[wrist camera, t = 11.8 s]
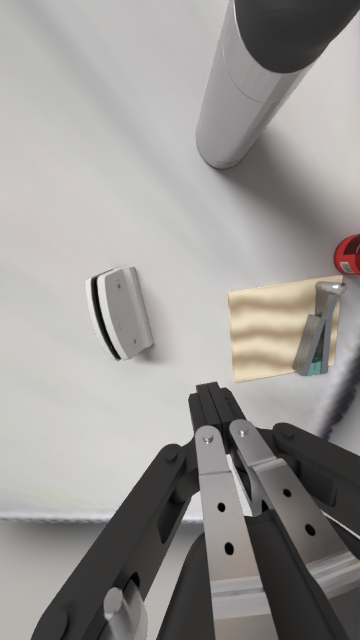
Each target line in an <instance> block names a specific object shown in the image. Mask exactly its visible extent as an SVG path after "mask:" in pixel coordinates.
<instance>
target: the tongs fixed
mask: <svg viewBox="0 0 360 640" xmlns="http://www.w3.org/2000/svg"><path fill="white" fill-rule="evenodd" d="M315 289H316V298H315V314H314V315H318V316H321V317H322V314H323V311H324V308H325V305H326V302H327V299H328V296H329V295H335V294H342V293H344V292H345V290H346V284H344V283H336V282H326V281H318V282H317V283H316V284H315ZM332 317H333V315H332ZM331 328H332V318H331V320H328V319H326V321H325V324H324V327H323V330H322V333H321V336H320V339H319V342H318V345H317V348H316V351H315V354H314V357H313V359H312V361H313V362H315V363H316V365H315V368H314V371H313V373H314V374H315V375H316V374H325V373H327V372H328V361H329V350H330V339H331Z"/></svg>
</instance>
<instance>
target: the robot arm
mask: <svg viewBox="0 0 360 640" xmlns="http://www.w3.org/2000/svg"><path fill="white" fill-rule="evenodd" d="M359 10H360V0H229V4H228V7H227V11H226V15H225V20H224V24H223V27H222V31H221V35H220V39H219V41H218V45H217V49H216V53H215V57H214V61H213V65H212V69H211V73H210V76H209V80H208V84H207V88H206V92H205V96H204V100H203V104H202V108H201V112H200V116H199V120H198V124H197V128H196V143H197V147H198V150H199V152H200V154H201V156H202V157H203V159H204V160H205V161H206V162H207V163H208V164H209V165H211V166H213V167H215V168H218V169H227V168H231V167H233V166H234V165H236V164H237V163H238V162H240V161H241V159H242V158H243V157H244V155H245V154H246V153H247V151H248V150H249V149H250V148H251V146H252V145H253V144H254V143H255V141H256V140H257V139H258V137H259V136H260V135H261V133H262V132H263V131H264V129H265V128H266V127H267V125H268V124H269V123H270V121H271V120H272V119H273V118H274V116H275V115H276V114H277V112H278V111H279V110H280V108H281V107H282V106H283V104H284V103H285V102H286V100H287V99H288V98H289V96H290V95H291V94H292V92H293V91H294V90H295V89H296V87H297V86H298V84H299V83H300V82H301V80H302V79H303V78H304V76H305V75H306V74H307V73H308V71H309V70H310V69H311V67H312V66H313V65H314V63H315V62H316V61H317V59H318V58H319V57H320V55H321V54H322V53H323V51H324V50H325V49H326V47H327V46H328V45H329V43H330V42H331V41H332V40H333V39H334V38H335V37H336V36H337V35H339V33H340V32H341V31H342V30H343V29H344V28H345V27H346V26H347V25H348V23H349V22H350V21H351V20H352V19H353V17H354V16H355V15H356V14H357V12H358V11H359ZM196 391H197V393H194V394H190V396H189V399H188V401H189V408H190V414H191V420H192V425H193V430H194V436H193V438H192V440H191V441H190V442H189V443H188V444H186V445H184V446H182V447H181V446H180V445H178V444H169V445H166V446H165V447H163V448H162V449H161V450H160V452H159V453H158V455H157V456H156V457H155V459H154V460H153V461H152V463H151V464H150V466H149V467H148V468H147V470H146V471H145V473H144V474H143V475H142V477H141V478H140V480H139V481H138V482H137V484H136V485H135V486H134V488H133V489H132V491H131V492H130V493H129V495H128V496H127V498H126V499H125V500H124V502H123V503H122V505H121V506H120V507H119V509H118V510H117V511H116V513H115V514H114V516H113V517H112V518H111V520H110V521H109V523H108V524H107V525H106V527H105V528H104V530H103V531H102V532H101V534H100V535H99V537H98V538H97V539H96V541H95V542H94V544H93V545H92V546H91V548H90V549H89V550H88V552H87V554H86V555H85V556H84V557H83V559H82V560H81V562H80V563H79V564H78V566H77V567H76V568H75V570H74V571H73V573H72V574H71V575H70V577H69V578H68V580H67V581H66V582H65V584H64V585H63V587H62V588H61V590H60V591H59V592H58V593H57V595H56V596H55V598H54V599H53V600H52V602H51V603H50V605H49V606H48V607H47V609H46V610H45V612H44V613H43V615H42V617H41V618H40V620H39V622H38V624H37V626H36V628H35V630H34V633H33V635H32V638H31V640H146V637H147V628H148V626H147V625H148V620H147V612H146V609H145V606H144V600H145V598H146V596H147V594H148V592H149V589H150V587H151V585H152V583H153V581H154V579H155V576H156V574H157V572H158V570H159V568H160V566H161V564H162V561H163V559H164V557H165V555H166V553H167V550H168V548H169V546H170V544H171V542H172V539H173V538H174V535H175V533H176V531H177V529H178V527H179V525H180V523H181V520H182V518H183V516H184V514H185V512H186V510H187V507H188V505H189V503H190V501H191V497H192V496H193V495H194V494H195V493H197V492H198V491H200V492H201V502H202V511H203V520H204V530H205V531H204V532H203V533H202V534H201V535H200V536H199V537H198V538H197V539H196V540H195V542H194V543H193V545H192V546H191V549H190V550H189V552H188V554H187V556H186V559H185V561H184V564H183V567H182V570H181V573H180V575H179V578H178V581H177V584H176V586H175V589H174V592H173V595H172V597H171V600H170V603H169V605H168V608H167V611H166V614H165V616H164V619H163V623H162V625H161V628H160V630H159V633H158V636H157V639H156V640H360V539H358V538H357V537H356V536H354V535H353V534H351V533H350V532H349V531H347V530H346V529H345V528H343V527H342V526H340V525H339V524H338V523H336V522H335V521H333V520H332V519H330V518H328V517H326V516H325V515H323V513H322V512H321V510H322V511H324V512H325V513H327V514H328V515H330V516H331V517H333V518H334V519H335V520H337V521H338V522H340V523H342V524H343V525H345V526H346V527H347V528H349V529H350V530H352V531H353V532H354V533H356V534H357V535H359V536H360V456H358V455H356V454H354V453H352V452H350V451H347V450H345V449H343V448H341V447H339V446H337V445H335V444H332V443H330V442H328V441H326V440H324V439H322V438H319V437H317V436H315V435H313V434H311V433H309V432H307V431H304V430H302V429H300V428H298V427H296V426H294V425H291V424H288V423H277V424H275V425H274V426H273V430H269V429H260V428H257V427H255V426H254V425H253V424H252V423H251V422H249V421H247V419H246V418H245V416H244V414H243V412H242V410H241V409H240V407H239V405H238V403H237V401H236V400H235V398H234V396H233V394H232V392H231V391H230V390H228V389H227V388H220V387H219V385H218V383H217V382H211V383H207V384H201V385H196ZM227 454H230V455H231V458H232V464H233V469H234V471H235V474H236V476H237V478H238V481H239V483H240V485H241V487H242V490H243V492H244V494H245V497H246V499H247V501H248V504H249V506H250V509H251V512H252V516H253V517H251V516H244V515H243V512H242V508H241V504H240V500H239V497H238V493H237V489H236V485H235V482H234V478H233V475H232V472H231V471H230V469H229V465H228V462H227V458H226V455H227ZM316 470H317V471H316ZM323 474H324V475H323ZM320 509H321V510H320Z"/></svg>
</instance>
